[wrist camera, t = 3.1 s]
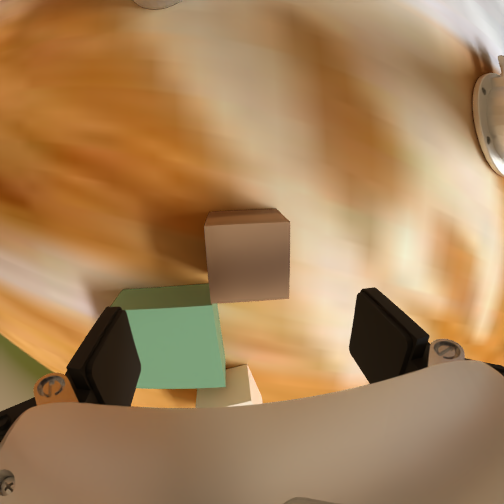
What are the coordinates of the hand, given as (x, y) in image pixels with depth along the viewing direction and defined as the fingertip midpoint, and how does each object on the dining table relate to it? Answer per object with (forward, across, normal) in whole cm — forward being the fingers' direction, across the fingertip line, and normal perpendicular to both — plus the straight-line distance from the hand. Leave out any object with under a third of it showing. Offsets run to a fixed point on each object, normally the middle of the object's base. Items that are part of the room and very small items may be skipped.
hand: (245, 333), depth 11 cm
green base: (+12, +5, +7) cm, 15 cm away
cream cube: (+12, +1, +15) cm, 19 cm away
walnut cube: (+12, -1, 0) cm, 12 cm away
